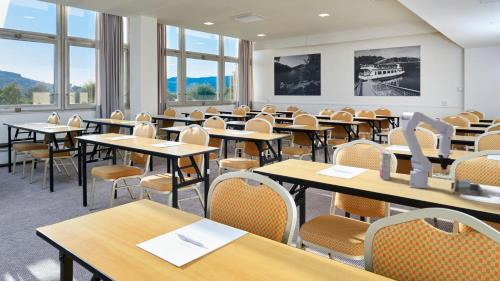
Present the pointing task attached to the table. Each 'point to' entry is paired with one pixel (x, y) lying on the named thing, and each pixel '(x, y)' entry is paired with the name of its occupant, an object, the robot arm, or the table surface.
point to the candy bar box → (385, 165)
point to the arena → (474, 190)
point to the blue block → (461, 185)
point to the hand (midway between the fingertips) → (443, 168)
